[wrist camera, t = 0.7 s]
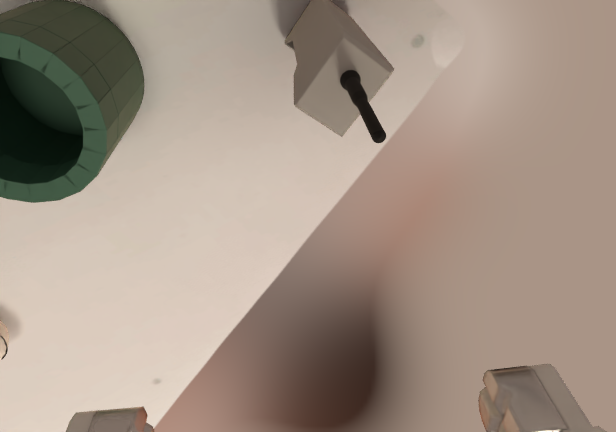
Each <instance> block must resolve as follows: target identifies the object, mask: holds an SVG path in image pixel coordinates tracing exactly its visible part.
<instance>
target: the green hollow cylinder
mask: <svg viewBox="0 0 616 432" xmlns="http://www.w3.org/2000/svg"><path fill="white" fill-rule="evenodd" d="M143 94H144V77H143V71H142V67H141V64H140V61H139V58H138V56H137V54H136V52H135V50H134V48H133V47H132V45H131V43H130V42H129V40H128V39H127V38H126V37H125V35H124V34H123V33H122V32H121V31H120V30H119V29H118V28H117V27H116V26H115V25H114V24H113V23H112V22H111V21H109V20H108V19H107V18H105V17H104V16H102V15H101V14H99V13H98V12H96V11H94V10H92V9H90V8H88V7H86V6H83V5H81V4H78V3H74V2H70V1H64V0H43V1H37V2H32V3H29V4H26V5H23V6H21V7H18V8H15V9H13V10H10V11H7V12H5V13H2V14H0V197H3V198H6V199H12V200H19V201H25V202H31V203H32V202H33V203H35V202H46V201H56V200H61V199H63V198H66V197H68V196H70V195H73V194H75V193H78V192H80V191H81V190H83V189H84V188H85V187H86V186H87V185H88V184H89V183H90V182H91V181H92V180H93V179H94V178H95V177H96V176H97V175H98V174H99V172H100V171H101V169H102V168H103V166H104V165H105V163H106V161H107V160H108V158H109V157H110V155H111V154H112V152H113V151H114V149H115V148H116V146H117V144H118V143H119V141H120V140H121V138H122V137H123V135H124V134H125V132H126V131H127V129H128V127H129V126H130V124H131V123H132V121H133V120H134V118H135V116H136V113H137V112H138V110H139V108H140V105H141V103H142V99H143Z"/></svg>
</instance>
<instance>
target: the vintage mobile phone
mask: <svg viewBox="0 0 616 432" xmlns="http://www.w3.org/2000/svg"><path fill="white" fill-rule="evenodd" d="M285 44H286V45H287V46H288V47H290V48H291V49H293V50H294V51H295V55H296V60H297V67H296V70H295V73H294V105H295V107H297V108H298V109H300V110H301V111H303V112H305V113H306V114H308V115H309V116H311V117H312V118H314V119H315V120H317V121H318V122H320V123H321V124H323V125H324V126H326V127H327V128H329V129H330V130H332V131H333V132H335V133H337V134H338V135H340V136H341V137H342V136H343V135H344V134H345V133H346V131H347V130H348V129H349V128H350V126H351V125H352V124H353V122H354V121H355V120H356V119H357V117H358V116H359V115H360V114H361V116H362V118H363V120H364V122H365V124H366V127H367V129H368V131H369V133H370V135H371V137H372V139H373V141H374V142H376V143H381V142H383V141H384V140H385V138H386V133H385V131H384V130H383V128H382V126H381V124H380V122H379V121H378V119H377V117H376V115H375V113H374V111H373V110H372V108H371V106H370V104H369V102H370V101H371V99H372V98H373V97H374V96H375V94H376V93H377V92H378V91H379V89H380V88H381V87H382V85H383V84H384V83H385V82H386V80H387V79H388V78H389V76H390V75H391V74H392V72H393V71H394V68H393V67H392V65H391V64H390V63H389V62H388V61H387V59H386V58H385V57H384V56H383V55H382V53H381V52H380V51H379V50H378V49H377V47H376V46H375V45H374V44H373V43H372V41H371V40H370V39H369V38H368V37H367V36H366V34H365V33H364V32H363V31H362V30H361V28H360V27H359V26H358V25H357V24H356V22H355V21H354V20H353V19H352V18H351V17H350V16H349V15H348V14H346V13H345V12H344V11H343V10H341V9H340V8H339V7H338V6H336V5H335V4H334V3H332V2H331V1H330V0H311V1H310V3H309V4H308V6H307V7H306V9H305V10H304V12H303V14H302V15H301V17H300V18H299V20H298V21H297V23H296V24H295V26H294V27H293V29H292V30H291V32H290V34H289V35H288V37H287V38H286V40H285Z"/></svg>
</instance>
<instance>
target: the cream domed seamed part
mask: <svg viewBox="0 0 616 432" xmlns="http://www.w3.org/2000/svg"><path fill="white" fill-rule="evenodd" d="M8 344H9V334H8V330H7V328H6V326H5V325H4V324H3V322H2V321H1V320H0V360H2V359H3V358H4V357H5V355H6V354H7V349H8Z"/></svg>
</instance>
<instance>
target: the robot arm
mask: <svg viewBox="0 0 616 432" xmlns="http://www.w3.org/2000/svg"><path fill="white" fill-rule="evenodd" d="M483 382H484V384H485V386H486V387H485V388H484V389H483V390H481V391H480V395H479V411H480V415H481V418H482V422H483V424H484V427H485V429H486V431H487V432H606V431H605V430H604V429H602V428H601V427H599V426H598V427H592V425H591V424H590V422H589V420H588V419H587V417H586V416H585V414H584V413H583V411H582V410H581V408H580V407H579V405H578V403H577V402H576V400H575V399H574V397H573V396H572V394H571V392H570V391H569V389H568V388H567V386H566V384H565V383H564V381H563V380H562V378H561V377H560V375H559V373H558V372H557V370H556V369H555V368H554V367H553V366H552V365H551V364H542V365H534V366H520V367H512V368H504V369H495V370H488V371H486V372H485V374H484V377H483ZM146 419H147V413H146V411H145V409H144V407H134V408H123V409H112V410H101V411H99V410H98V411H89V412H79V413H76V414H75V415H74V416H73V417H72V419H71V420H70V422H69V425H68V427H67V430H66V432H154V429H153V427H152V426H151V425H150V424H148V423H146Z"/></svg>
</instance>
